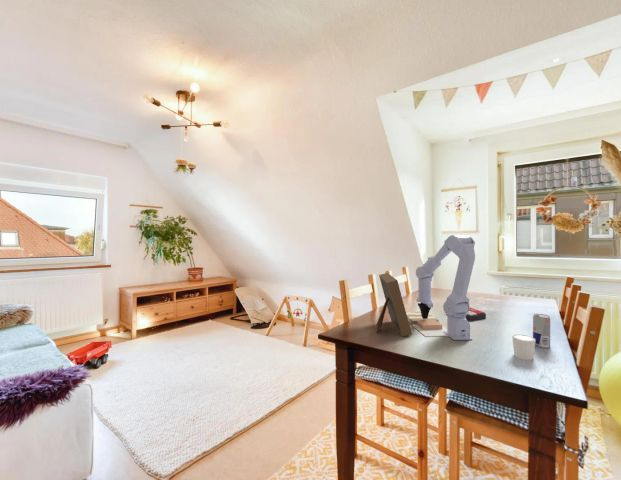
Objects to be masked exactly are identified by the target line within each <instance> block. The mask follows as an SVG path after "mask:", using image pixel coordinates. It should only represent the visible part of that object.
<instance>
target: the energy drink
mask: <svg viewBox="0 0 621 480" xmlns="http://www.w3.org/2000/svg"><path fill="white" fill-rule="evenodd" d="M532 337H533V338H534V339H535V340H536V341H535V347H538V348H540V349H541V348H542V349H549V348H550V347H551V318H550V315H548V314H542V313H534V314H533V316H532Z"/></svg>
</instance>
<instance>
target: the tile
mask: <svg viewBox="0 0 621 480" xmlns="http://www.w3.org/2000/svg"><path fill="white" fill-rule="evenodd" d="M416 324H417V325H418V326H419V327H420V328H422V329H423V330H433V329H442V325H443V323H440V322H437V321H436V320H416Z"/></svg>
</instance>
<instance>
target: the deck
mask: <svg viewBox="0 0 621 480" xmlns="http://www.w3.org/2000/svg"><path fill="white" fill-rule="evenodd" d="M406 314H407V318H408V322H409V324H411V325H412V324H416V320H436V321H437V322H439V321H440V319H438V318H436V317H435V316H434V315H432V314H431V313H429V314H428V318H427V319H423V318H422V315H421V311H406ZM439 323H440V322H439Z"/></svg>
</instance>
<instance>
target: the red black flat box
mask: <svg viewBox="0 0 621 480" xmlns="http://www.w3.org/2000/svg"><path fill="white" fill-rule="evenodd" d="M486 319H487V312H486V313H485V312H484V311H481V310H478V309H476V308H472V307H470V309H469V312H468V313H467V315H466V320H467V321H468V322H474V321H480V320H486Z"/></svg>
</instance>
